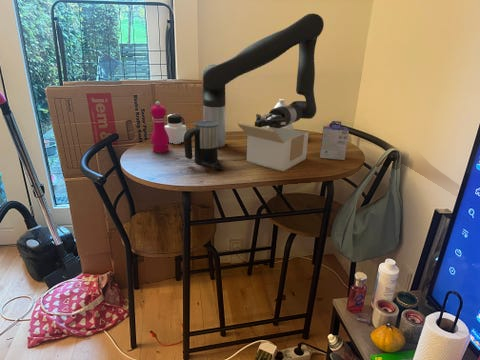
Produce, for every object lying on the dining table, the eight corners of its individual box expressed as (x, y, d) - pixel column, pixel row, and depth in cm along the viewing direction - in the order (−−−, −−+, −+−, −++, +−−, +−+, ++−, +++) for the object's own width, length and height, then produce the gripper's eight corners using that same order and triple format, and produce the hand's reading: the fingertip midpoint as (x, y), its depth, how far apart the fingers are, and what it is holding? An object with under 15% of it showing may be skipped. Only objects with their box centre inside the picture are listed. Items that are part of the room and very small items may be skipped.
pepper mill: (154, 153, 141) (150, 103, 133) (149, 148, 147) (146, 100, 139) (171, 151, 144) (169, 102, 136) (166, 146, 150) (164, 99, 142)
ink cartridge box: (344, 156, 144) (349, 121, 139) (345, 160, 139) (350, 124, 134) (319, 154, 146) (324, 119, 140) (319, 158, 141) (324, 122, 135)
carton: (283, 172, 126) (286, 142, 122) (245, 161, 135) (246, 133, 131) (307, 158, 140) (310, 132, 135) (271, 150, 149) (272, 124, 145)
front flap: (283, 142, 122) (283, 143, 122) (248, 134, 130) (248, 135, 130) (274, 130, 115) (273, 131, 115) (237, 122, 123) (237, 124, 123)
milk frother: (204, 155, 141) (203, 118, 135) (237, 163, 133) (238, 125, 127) (180, 165, 130) (179, 126, 124) (215, 175, 122) (215, 133, 116)
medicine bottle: (186, 141, 158) (186, 114, 153) (176, 144, 153) (174, 117, 148) (175, 138, 162) (173, 112, 157) (164, 141, 156) (162, 115, 151)
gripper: (268, 103, 134) (241, 110, 121) (299, 108, 127) (274, 116, 114) (267, 123, 137) (240, 132, 124) (297, 129, 130) (272, 139, 117)
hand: (256, 124), depth 119 cm, fingers closed
